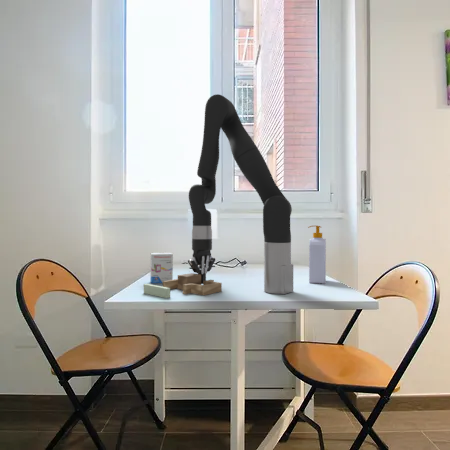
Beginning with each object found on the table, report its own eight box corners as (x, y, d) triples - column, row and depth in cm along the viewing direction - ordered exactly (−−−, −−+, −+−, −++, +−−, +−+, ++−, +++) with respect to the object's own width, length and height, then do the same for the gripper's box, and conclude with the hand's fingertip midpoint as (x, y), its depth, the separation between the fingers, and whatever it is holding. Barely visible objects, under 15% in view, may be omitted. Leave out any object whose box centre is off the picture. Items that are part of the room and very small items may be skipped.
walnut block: (201, 288, 129) (201, 274, 129) (186, 290, 124) (187, 276, 124) (191, 286, 132) (191, 273, 132) (177, 289, 127) (177, 275, 127)
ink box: (151, 283, 139) (151, 253, 138) (150, 281, 143) (150, 252, 143) (172, 282, 141) (172, 253, 141) (171, 280, 146) (171, 252, 146)
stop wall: (170, 297, 113) (170, 288, 113) (166, 298, 112) (166, 288, 112) (147, 292, 121) (147, 283, 121) (143, 293, 120) (143, 284, 120)
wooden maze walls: (226, 290, 125) (226, 281, 125) (198, 296, 114) (198, 287, 114) (191, 284, 137) (191, 276, 137) (162, 289, 126) (162, 281, 126)
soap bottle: (308, 279, 149) (308, 225, 148) (325, 280, 147) (325, 225, 146) (307, 283, 140) (307, 225, 140) (325, 284, 138) (325, 225, 138)
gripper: (196, 238, 125) (196, 287, 125) (221, 237, 135) (221, 282, 135) (182, 238, 130) (182, 284, 130) (207, 237, 140) (207, 280, 140)
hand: (202, 283), depth 133 cm, fingers closed
